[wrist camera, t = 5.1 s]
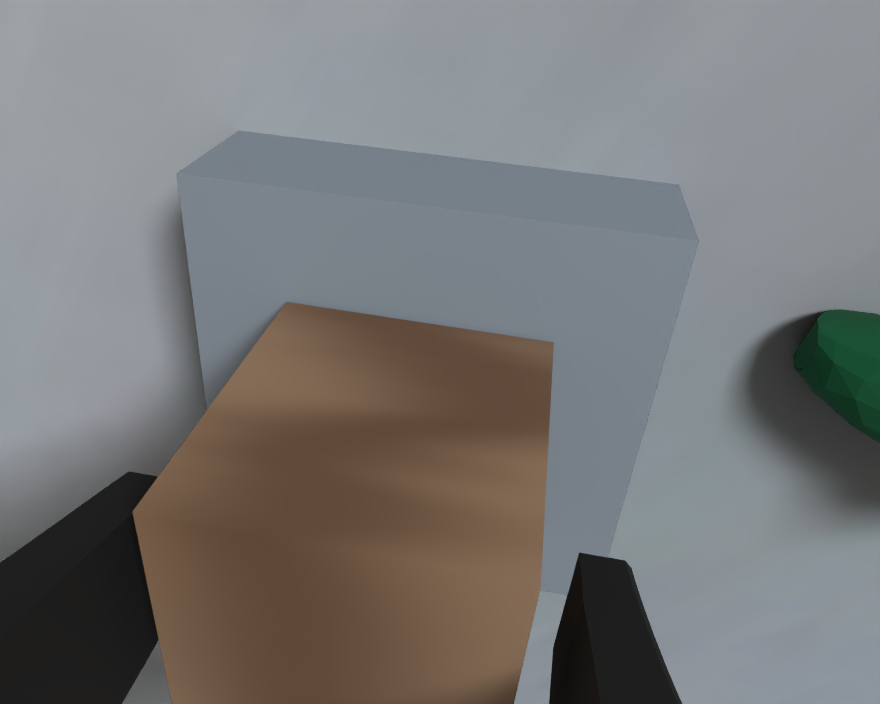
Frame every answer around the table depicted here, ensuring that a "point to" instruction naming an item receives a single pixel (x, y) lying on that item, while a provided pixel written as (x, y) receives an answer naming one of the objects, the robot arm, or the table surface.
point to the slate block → (456, 283)
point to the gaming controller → (845, 366)
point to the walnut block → (355, 518)
